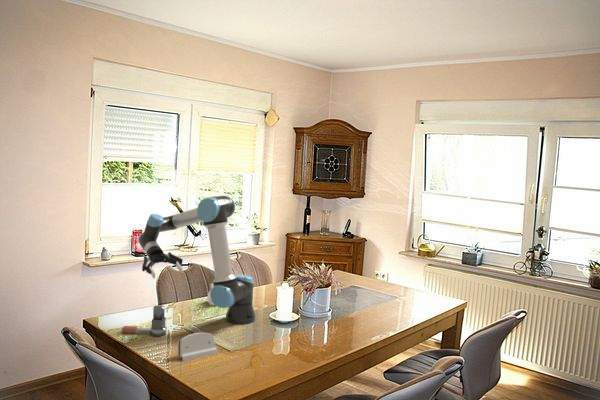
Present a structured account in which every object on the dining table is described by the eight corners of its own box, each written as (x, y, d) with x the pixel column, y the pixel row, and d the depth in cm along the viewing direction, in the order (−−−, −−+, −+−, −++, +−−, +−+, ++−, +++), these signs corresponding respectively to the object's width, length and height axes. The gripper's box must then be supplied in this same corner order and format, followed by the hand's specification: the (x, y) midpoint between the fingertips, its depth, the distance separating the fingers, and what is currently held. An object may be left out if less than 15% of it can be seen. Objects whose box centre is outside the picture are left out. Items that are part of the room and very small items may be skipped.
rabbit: (226, 305, 295) (227, 284, 294) (212, 308, 288) (213, 286, 287) (213, 299, 303) (214, 279, 302) (200, 302, 297) (200, 281, 296)
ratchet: (167, 331, 248) (168, 318, 248) (163, 337, 241) (164, 323, 241) (125, 329, 248) (125, 316, 248) (120, 334, 241) (120, 321, 241)
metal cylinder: (165, 326, 247) (165, 305, 246) (162, 329, 242) (162, 308, 241) (154, 325, 247) (155, 305, 246) (151, 329, 242) (152, 308, 241)
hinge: (182, 361, 216) (179, 336, 217) (177, 361, 219) (174, 336, 221) (218, 353, 226) (215, 329, 228) (213, 353, 230) (210, 330, 231)
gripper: (177, 253, 278) (192, 274, 262) (129, 262, 265) (142, 285, 249) (177, 241, 275) (193, 262, 259) (129, 249, 262) (142, 271, 246)
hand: (168, 273), depth 254 cm, fingers open, 13 cm apart
